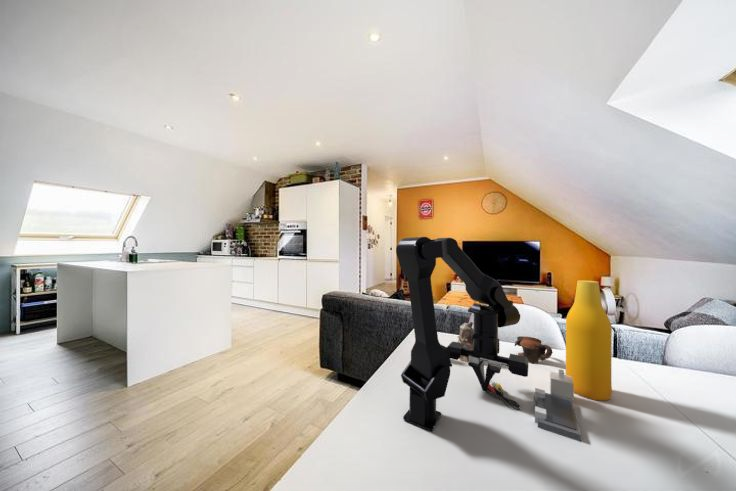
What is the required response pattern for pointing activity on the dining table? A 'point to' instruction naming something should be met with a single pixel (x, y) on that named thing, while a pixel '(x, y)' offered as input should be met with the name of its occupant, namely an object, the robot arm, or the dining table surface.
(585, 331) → the beer bottle
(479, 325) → the robot arm
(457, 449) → the dining table surface
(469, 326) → the figurine
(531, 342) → the pottery mug
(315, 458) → the dining table surface
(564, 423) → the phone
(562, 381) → the brick
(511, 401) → the composite cable
